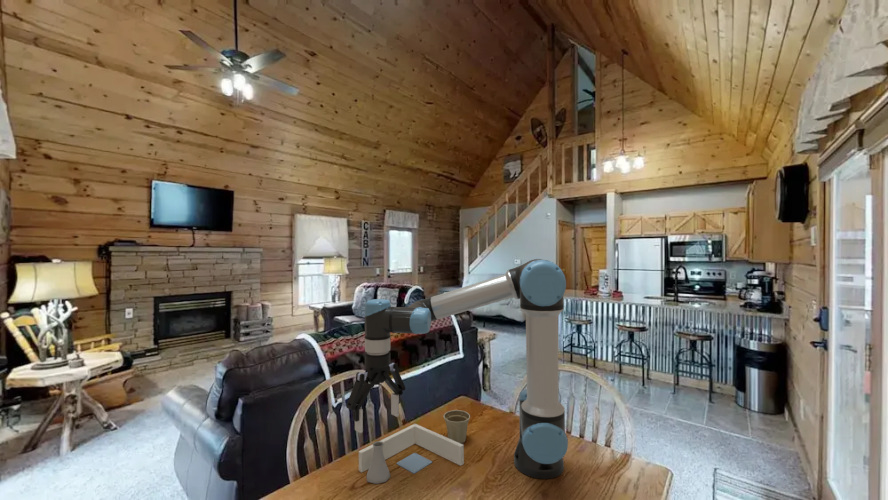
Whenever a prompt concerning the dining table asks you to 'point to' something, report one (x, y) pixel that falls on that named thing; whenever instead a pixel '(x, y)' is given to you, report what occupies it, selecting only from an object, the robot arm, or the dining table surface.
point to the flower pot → (457, 425)
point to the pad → (414, 463)
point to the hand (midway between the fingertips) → (377, 422)
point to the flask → (378, 465)
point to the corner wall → (415, 436)
